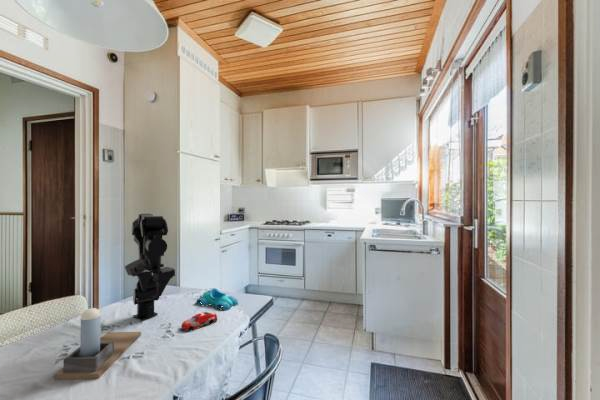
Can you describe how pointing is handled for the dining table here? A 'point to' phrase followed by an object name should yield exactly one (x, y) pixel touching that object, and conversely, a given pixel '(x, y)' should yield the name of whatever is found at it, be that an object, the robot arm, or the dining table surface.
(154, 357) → the dining table surface
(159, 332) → the dining table surface
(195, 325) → the race car
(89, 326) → the post
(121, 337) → the board
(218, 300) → the toy car
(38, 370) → the dining table surface
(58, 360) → the dining table surface
